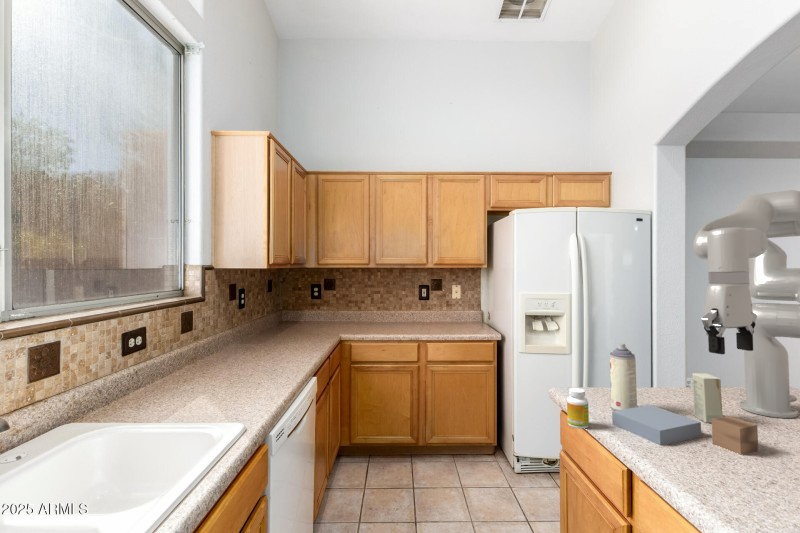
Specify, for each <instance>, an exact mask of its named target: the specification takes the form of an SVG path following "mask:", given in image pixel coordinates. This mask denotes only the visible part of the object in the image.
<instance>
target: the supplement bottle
mask: <svg viewBox="0 0 800 533" xmlns="http://www.w3.org/2000/svg"><path fill="white" fill-rule="evenodd" d="M568 391H569V392H568V393H569V396H568V397H567V398H566V412H567V415H566V416H567V417H566V418H567V425H569V426H570V427H572V428H575V429H581V430H582V429H587V428H589V426H590V418H589V417H590V415H589V400H588V399H587V398H586V390H584V389H582V388H579V387H572V388H569V389H568Z"/></svg>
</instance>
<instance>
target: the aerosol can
mask: <svg viewBox="0 0 800 533" xmlns="http://www.w3.org/2000/svg"><path fill="white" fill-rule="evenodd" d="M636 363H637V362H636V354H634V353H632V351H631V350H630V349H629V348H627V347H626V344H625V343H618V346H617V347H616V348H615V349H614V350H612V352H610V354H609V366H610V367H609V368H610V369H609V371H610V372H609V373H610V401H611V402H610V406H611V410H612V411H618V410H623V409H629V408H635V407H638V394H637V393H638V392H637V368H636V367H637V366H636V365H637V364H636Z"/></svg>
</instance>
